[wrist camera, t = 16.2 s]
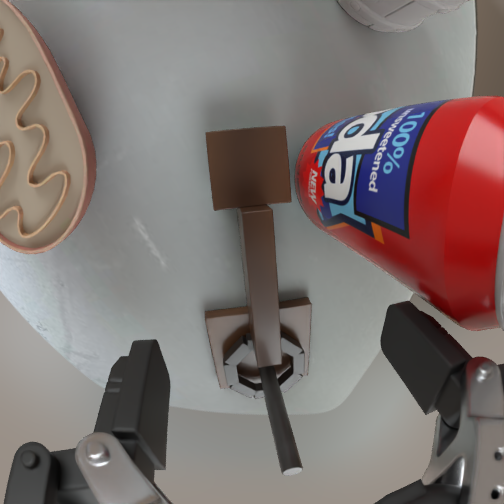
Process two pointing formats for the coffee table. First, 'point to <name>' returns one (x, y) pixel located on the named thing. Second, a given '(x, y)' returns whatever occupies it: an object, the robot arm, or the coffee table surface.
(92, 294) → the coffee table surface
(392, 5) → the mug
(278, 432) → the peg stand
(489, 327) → the soda can
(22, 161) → the mitochondrion model
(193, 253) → the coffee table surface
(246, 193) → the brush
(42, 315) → the coffee table surface
